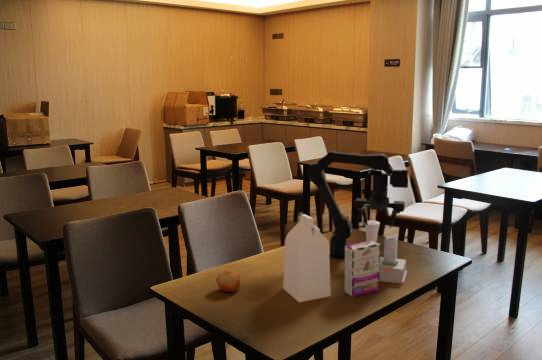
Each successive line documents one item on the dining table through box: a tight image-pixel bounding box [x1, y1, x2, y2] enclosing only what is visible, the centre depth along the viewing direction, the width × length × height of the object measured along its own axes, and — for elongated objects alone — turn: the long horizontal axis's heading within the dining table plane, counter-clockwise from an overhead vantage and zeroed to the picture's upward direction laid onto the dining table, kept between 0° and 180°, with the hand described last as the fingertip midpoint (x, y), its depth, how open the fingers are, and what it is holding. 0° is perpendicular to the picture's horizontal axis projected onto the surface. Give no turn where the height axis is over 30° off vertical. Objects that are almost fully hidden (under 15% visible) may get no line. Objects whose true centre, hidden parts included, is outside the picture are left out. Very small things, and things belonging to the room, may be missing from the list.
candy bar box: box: [344, 240, 381, 298], centre depth 171 cm, size 11×5×16 cm, turn 118°
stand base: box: [379, 256, 408, 285], centre depth 185 cm, size 11×11×5 cm
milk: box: [282, 213, 332, 303], centre depth 170 cm, size 12×12×26 cm
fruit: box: [215, 268, 241, 293], centre depth 174 cm, size 8×8×8 cm
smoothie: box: [363, 212, 381, 243], centre depth 218 cm, size 6×6×14 cm
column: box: [383, 236, 399, 266], centre depth 183 cm, size 4×4×10 cm
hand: (378, 226), depth 201 cm, fingers open, 9 cm apart
